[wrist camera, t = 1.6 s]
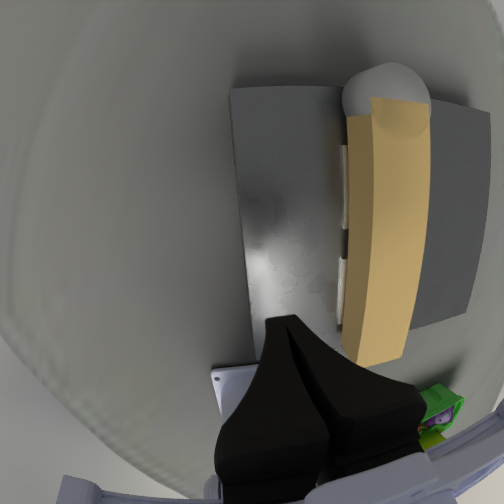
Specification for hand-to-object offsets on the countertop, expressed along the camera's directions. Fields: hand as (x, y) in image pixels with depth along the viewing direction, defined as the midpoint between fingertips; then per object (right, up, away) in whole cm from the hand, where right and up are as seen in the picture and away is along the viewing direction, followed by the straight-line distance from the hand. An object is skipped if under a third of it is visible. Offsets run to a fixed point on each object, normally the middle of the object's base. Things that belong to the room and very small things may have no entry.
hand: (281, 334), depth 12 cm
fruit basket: (+20, -17, +19) cm, 33 cm away
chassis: (+8, +6, +8) cm, 13 cm away
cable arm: (+6, +6, +4) cm, 9 cm away
